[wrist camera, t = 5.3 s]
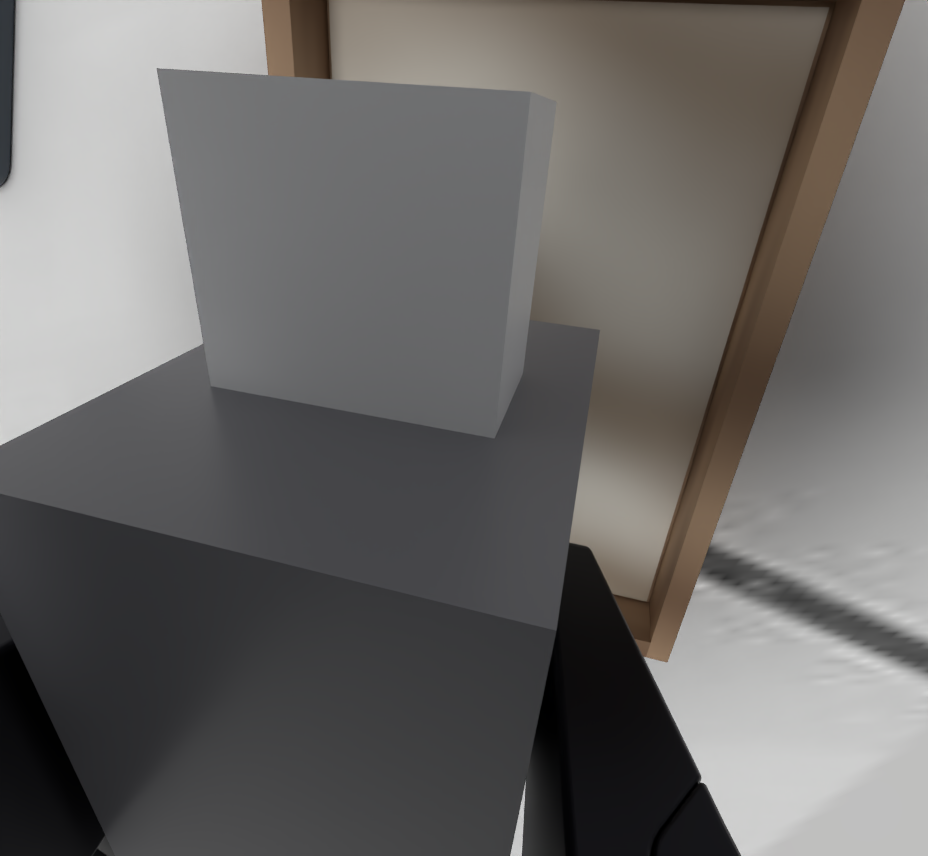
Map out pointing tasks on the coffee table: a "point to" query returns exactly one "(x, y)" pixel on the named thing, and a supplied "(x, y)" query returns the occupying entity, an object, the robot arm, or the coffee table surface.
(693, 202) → the tray
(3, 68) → the phone case
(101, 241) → the coffee table surface
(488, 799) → the plug
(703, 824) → the robot arm
